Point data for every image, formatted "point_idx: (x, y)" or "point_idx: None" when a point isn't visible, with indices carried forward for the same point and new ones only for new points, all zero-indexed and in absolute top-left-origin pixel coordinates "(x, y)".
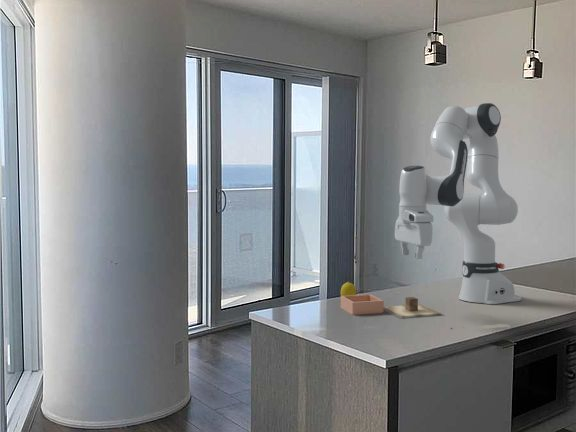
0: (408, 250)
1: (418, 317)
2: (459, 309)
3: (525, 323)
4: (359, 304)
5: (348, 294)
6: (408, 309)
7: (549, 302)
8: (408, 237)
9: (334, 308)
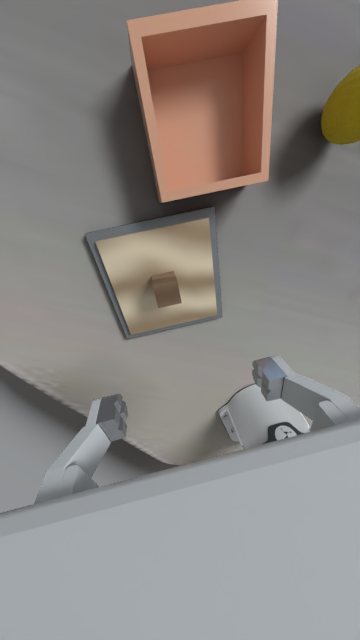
0: (265, 396)
1: (105, 284)
2: (197, 369)
3: None
4: (137, 78)
5: (336, 95)
6: (157, 275)
7: (216, 455)
8: (191, 540)
9: (285, 21)
